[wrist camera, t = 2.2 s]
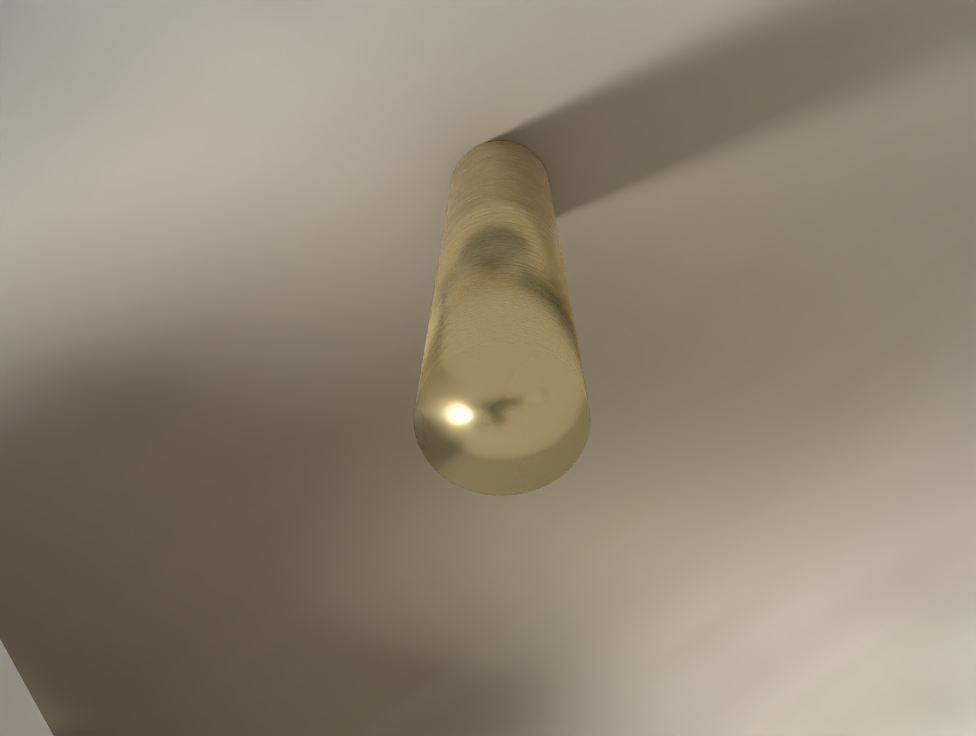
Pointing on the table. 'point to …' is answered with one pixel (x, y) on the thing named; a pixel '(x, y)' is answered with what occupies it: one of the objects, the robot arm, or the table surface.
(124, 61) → the table surface
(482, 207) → the brass peg
